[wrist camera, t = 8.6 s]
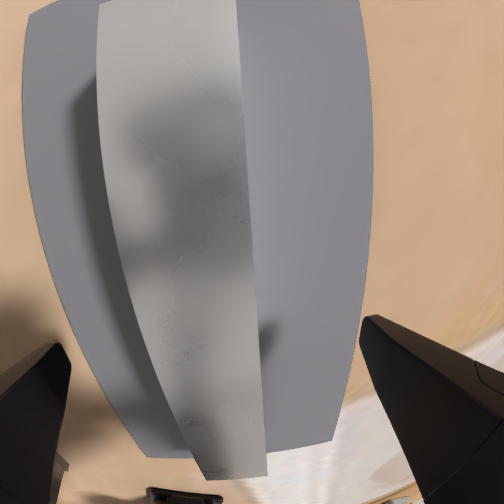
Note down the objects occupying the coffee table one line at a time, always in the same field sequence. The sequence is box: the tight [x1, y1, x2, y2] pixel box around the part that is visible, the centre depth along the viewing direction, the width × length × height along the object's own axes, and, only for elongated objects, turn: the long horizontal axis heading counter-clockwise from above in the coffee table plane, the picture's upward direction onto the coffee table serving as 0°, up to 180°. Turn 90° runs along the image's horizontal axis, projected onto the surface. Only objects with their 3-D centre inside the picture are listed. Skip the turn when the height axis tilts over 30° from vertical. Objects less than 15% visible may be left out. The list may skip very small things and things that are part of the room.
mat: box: [22, 0, 373, 458], centre depth 10 cm, size 24×12×1 cm, turn 4°
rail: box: [96, 0, 268, 480], centre depth 9 cm, size 18×3×3 cm, turn 4°
